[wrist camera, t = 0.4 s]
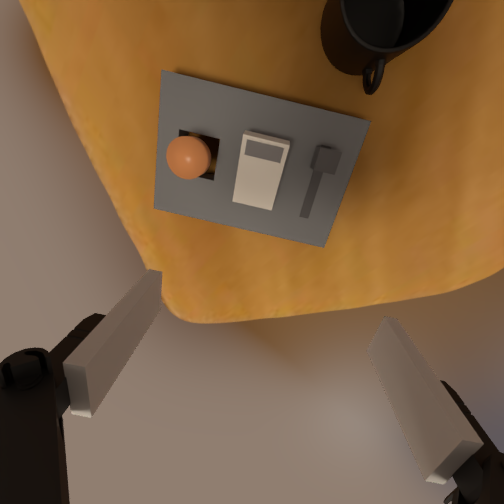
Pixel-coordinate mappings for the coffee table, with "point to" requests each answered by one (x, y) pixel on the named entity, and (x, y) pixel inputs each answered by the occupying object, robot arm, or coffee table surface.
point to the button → (188, 157)
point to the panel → (230, 134)
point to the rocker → (259, 169)
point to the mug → (375, 33)
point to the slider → (325, 160)
